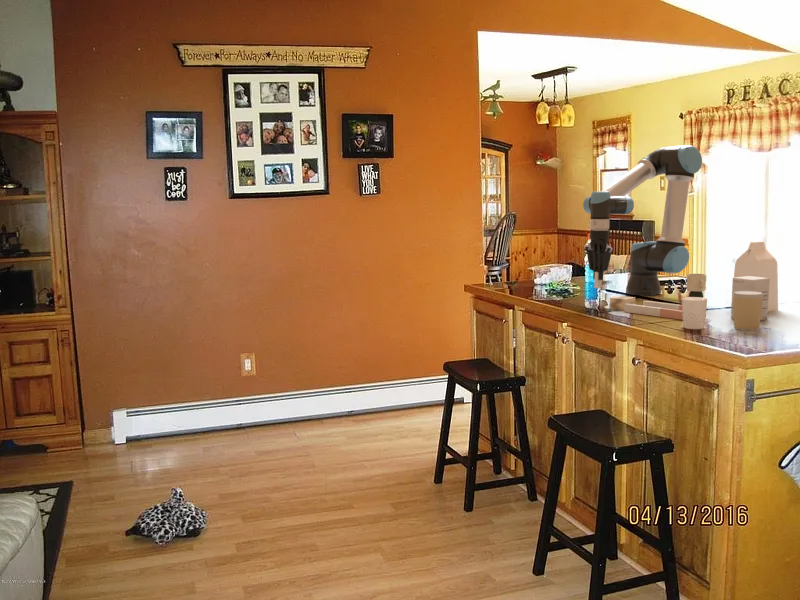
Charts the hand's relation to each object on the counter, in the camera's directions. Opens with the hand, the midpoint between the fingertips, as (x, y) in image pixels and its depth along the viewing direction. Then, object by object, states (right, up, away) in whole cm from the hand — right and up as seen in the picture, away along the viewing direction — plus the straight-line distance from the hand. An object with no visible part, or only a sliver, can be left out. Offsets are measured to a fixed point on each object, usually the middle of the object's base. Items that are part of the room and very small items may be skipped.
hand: (597, 287), depth 315 cm
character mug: (+36, -8, -10) cm, 38 cm away
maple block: (+8, -8, -8) cm, 14 cm away
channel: (+19, -10, -24) cm, 32 cm away
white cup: (+19, -15, -53) cm, 58 cm away
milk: (+55, -9, -18) cm, 59 cm away
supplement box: (+44, -12, -38) cm, 60 cm away
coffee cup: (+36, -15, -55) cm, 68 cm away
